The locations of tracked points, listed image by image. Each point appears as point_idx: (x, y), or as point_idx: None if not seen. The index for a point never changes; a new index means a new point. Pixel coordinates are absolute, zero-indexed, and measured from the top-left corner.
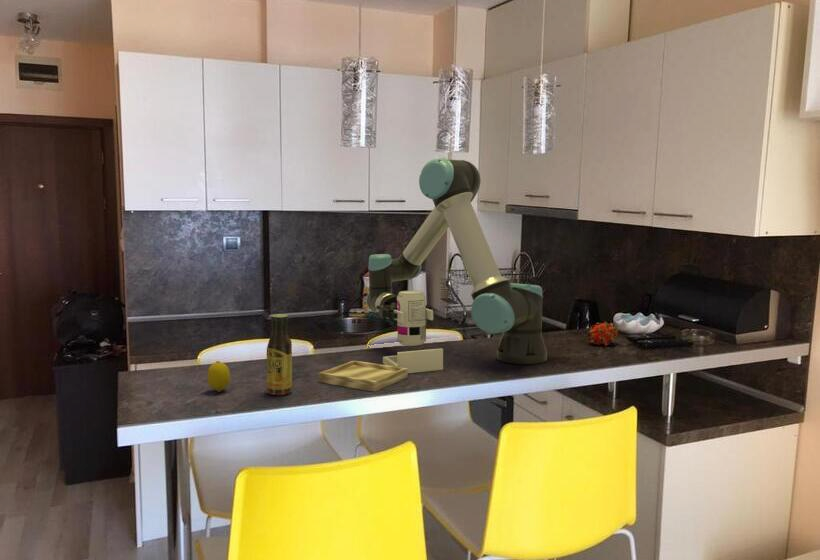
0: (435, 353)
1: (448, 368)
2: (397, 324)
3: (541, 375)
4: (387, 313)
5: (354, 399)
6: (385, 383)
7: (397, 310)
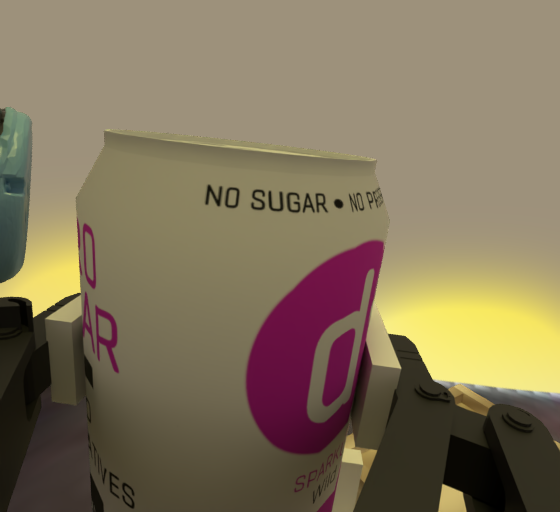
0: None
1: (87, 505)
2: (337, 478)
3: None
4: (465, 420)
5: (503, 388)
6: None
7: (367, 337)
